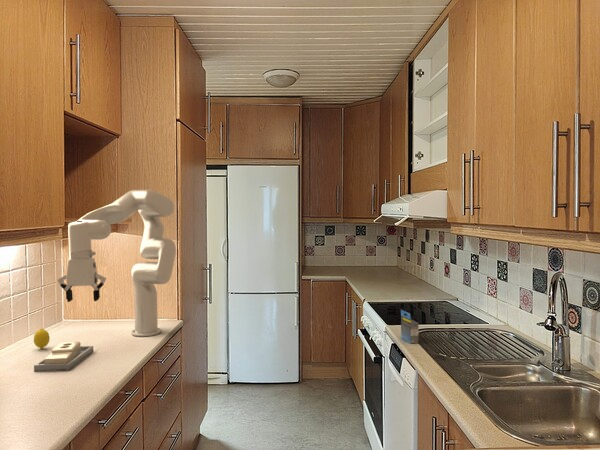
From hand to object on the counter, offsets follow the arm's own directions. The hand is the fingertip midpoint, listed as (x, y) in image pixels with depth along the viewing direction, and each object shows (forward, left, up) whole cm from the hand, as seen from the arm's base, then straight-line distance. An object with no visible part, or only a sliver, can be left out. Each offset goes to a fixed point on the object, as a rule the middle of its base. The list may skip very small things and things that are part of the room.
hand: (83, 300), depth 186 cm
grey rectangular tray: (+5, -5, -21) cm, 22 cm away
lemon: (-11, -21, -21) cm, 31 cm away
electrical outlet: (+6, -5, -20) cm, 22 cm away
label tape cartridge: (-13, +126, -21) cm, 129 cm away
